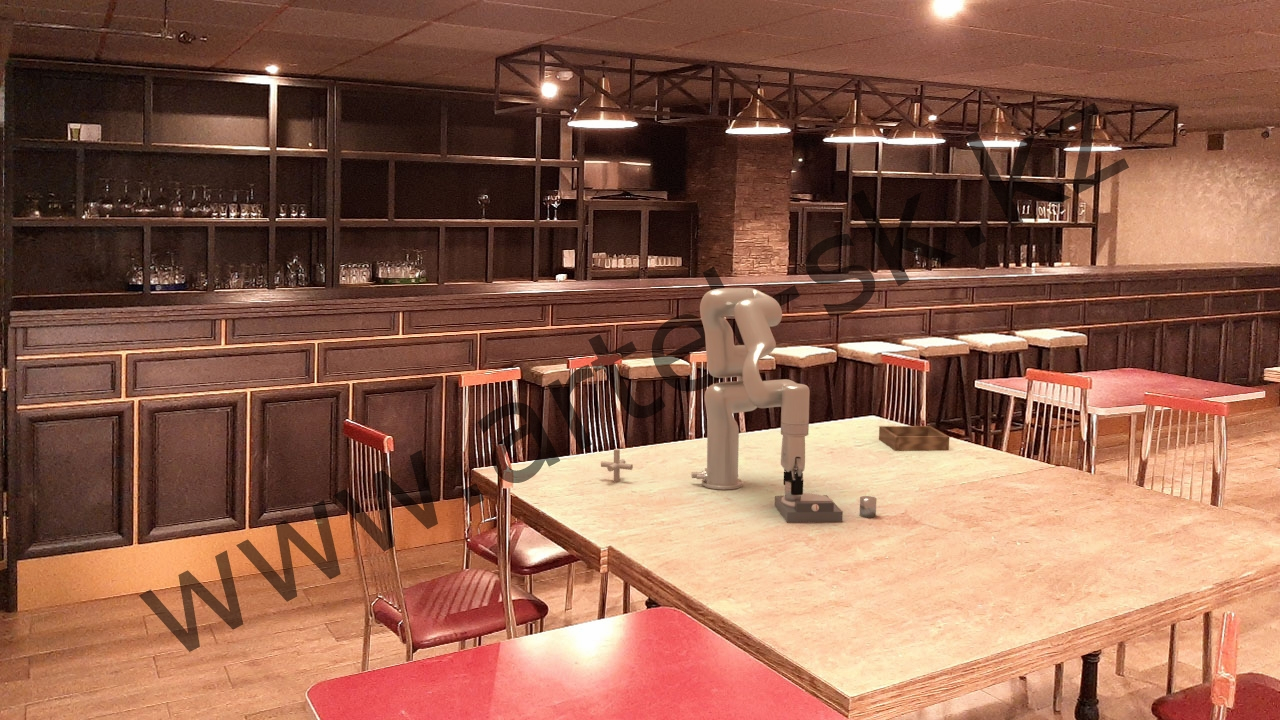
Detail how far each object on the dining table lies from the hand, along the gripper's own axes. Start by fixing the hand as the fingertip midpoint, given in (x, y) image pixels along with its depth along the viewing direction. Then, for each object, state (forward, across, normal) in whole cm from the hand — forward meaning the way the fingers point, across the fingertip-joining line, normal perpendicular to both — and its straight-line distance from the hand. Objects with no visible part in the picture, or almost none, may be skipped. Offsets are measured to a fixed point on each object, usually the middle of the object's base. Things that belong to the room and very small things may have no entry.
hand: (793, 490), depth 283 cm
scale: (+6, +1, +4) cm, 8 cm away
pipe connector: (+7, -37, -47) cm, 60 cm away
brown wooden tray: (+6, -86, +63) cm, 107 cm away
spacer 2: (+6, +4, +20) cm, 21 cm away
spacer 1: (+3, 0, 0) cm, 3 cm away
